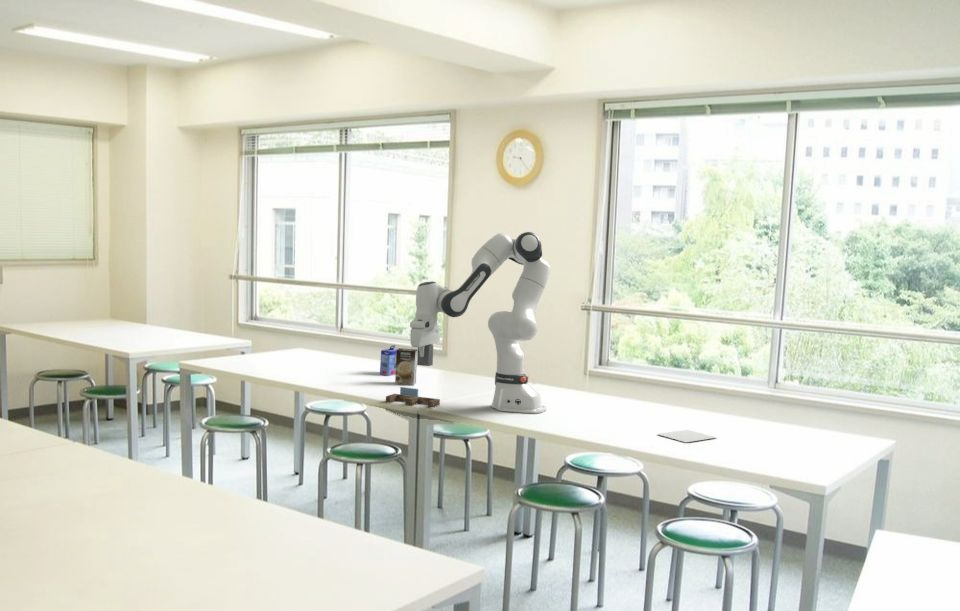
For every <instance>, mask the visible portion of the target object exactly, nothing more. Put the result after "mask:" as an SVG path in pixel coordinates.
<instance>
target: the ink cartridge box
mask: <svg viewBox="0 0 960 611" xmlns="http://www.w3.org/2000/svg"><path fill="white" fill-rule="evenodd" d="M397 349H398V348H396V345H395V344H394V345H391V346H390V347H389V348H387V349H381V351H380V361H379V362H380V363H379V375H381V376H386V377H388V376H389V377H390V376H395V374H396V352H397Z"/></svg>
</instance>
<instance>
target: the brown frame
mask: <svg viewBox="0 0 960 611" xmlns="http://www.w3.org/2000/svg"><path fill="white" fill-rule="evenodd" d="M399 388H400V390H399V393H400V394H399V393H391V394H388V395H386V396H385V403H388V404H391V403H395V402H405V406H412V407H413V406H415V405H417V404H416V403H418V404H421V403H426V404H425V405H427V408H428V407H434V408H436V407H438V406H437V405H439V406H440V402H441V399H439V398H433V397H424V396H419V388H411V387H404V386H400V387H399ZM414 404H415V405H414ZM435 406H436V407H435Z"/></svg>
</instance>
